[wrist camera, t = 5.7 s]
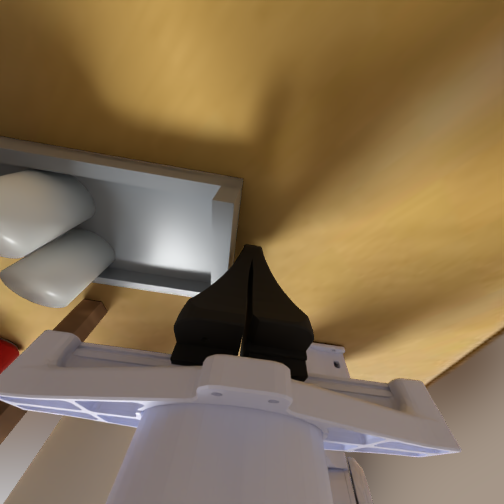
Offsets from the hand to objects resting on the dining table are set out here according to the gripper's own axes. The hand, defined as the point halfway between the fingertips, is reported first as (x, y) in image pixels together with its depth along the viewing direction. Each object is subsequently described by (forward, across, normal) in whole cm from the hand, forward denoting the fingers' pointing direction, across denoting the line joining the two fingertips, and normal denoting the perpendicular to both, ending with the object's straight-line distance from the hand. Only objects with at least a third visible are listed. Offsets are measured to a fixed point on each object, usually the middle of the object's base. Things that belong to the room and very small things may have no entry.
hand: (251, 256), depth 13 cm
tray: (+1, +9, 0) cm, 9 cm away
